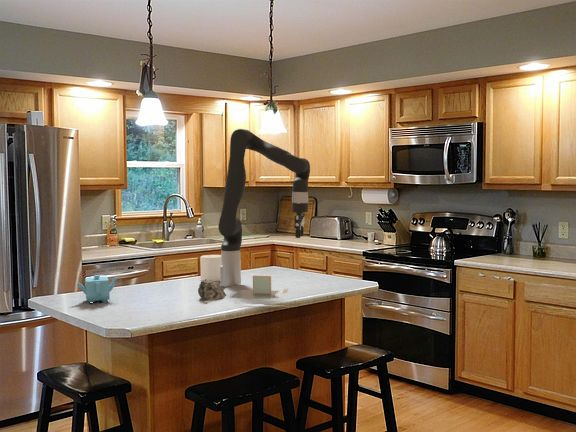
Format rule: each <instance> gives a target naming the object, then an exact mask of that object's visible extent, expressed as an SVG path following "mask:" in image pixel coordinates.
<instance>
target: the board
mask: <svg viewBox="0 0 576 432" xmlns="http://www.w3.org/2000/svg"><path fill="white" fill-rule="evenodd" d="M279 292H280V290H271V294H253V289H240V290H238V291H237V292H235V293H234V294H233V295H231V296H230V297H229V298H231V299H234V298H235V299H264V300H266V299H267V300H268V299H269V300H271V299H272V298H273V297H274V296H275V295H277V294H278V293H279Z"/></svg>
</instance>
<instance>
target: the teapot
mask: <svg viewBox="0 0 576 432" xmlns="http://www.w3.org/2000/svg"><path fill="white" fill-rule="evenodd" d="M119 278H120V276H115V277H113V278H112V280H111V283H110V280H109V278H108V277H107V276H101V275H99V274H95V275H93V277H85V278H84V285H85V286H84V285H83V284H82V283H80V282H76V286H77V287H78V288H79V289H80V290H81V291H82V292H83V293H84V295H85V299H86V301H87V302H88V303H89V302H94V303H95V301H96V302H98V301H101V303H103V302H105V303H108V301H109V300H110V299H111V297H110V292H112V291H113V289H114V287H115V283H116V281H117V280H118V279H119Z"/></svg>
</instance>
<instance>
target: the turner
mask: <svg viewBox="0 0 576 432" xmlns="http://www.w3.org/2000/svg"><path fill="white" fill-rule="evenodd" d="M288 290H289V289H288V288H283V291H281V294H286V293H287V291H288Z"/></svg>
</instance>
